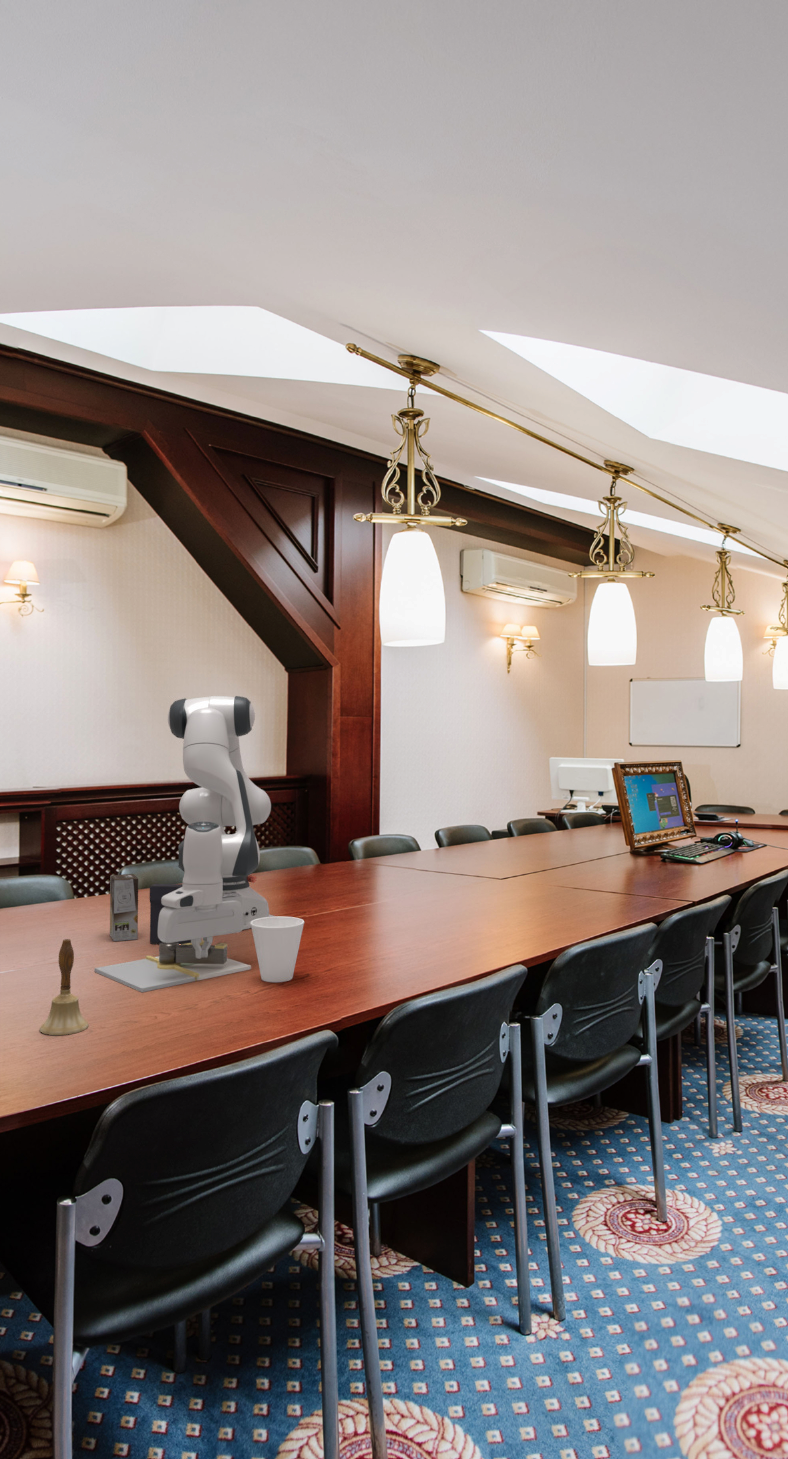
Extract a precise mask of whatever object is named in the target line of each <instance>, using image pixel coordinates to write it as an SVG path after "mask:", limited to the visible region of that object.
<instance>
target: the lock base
mask: <svg viewBox="0 0 788 1459" xmlns="http://www.w3.org/2000/svg"><path fill="white" fill-rule="evenodd" d="M203 943H204V941H203V940H201V943H199V945H203ZM181 945H192V943H187V944H181ZM251 969H252V965H250V964H247V963H244V962H241V961H239V960H238V961H237V960H234V959H231V958H228V957H227V962H225V963H224V964H196V963H170V964H164V963H160V962H159V955H158V956H152V955H146V956H145V958H143V959H137V960H131V961H127V962H121V963H116V964H110V965H104V966H99V967H94V972H95V973H97V974H99V975H101V976H102V977H103V976H104V977H106V978H109V979H110V980H113V981H115V982H117V983H119V984H122V985H124V986H126V987H129V988H131V989H133V990H136V991H138V992H140V993H145V992H146V993H147V992H149V991H155V990H159V989H160V990H161V989H165V988H168V987H169V988H170V987H174V986H179V985H183V984H188V983H194V982H197V981H202V980H206V979H207V980H208V979H211V978H217V977H220V976H225V975H226V976H227V975H230V974H234V973H239V972H245V971H249V970H251Z"/></svg>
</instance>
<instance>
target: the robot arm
mask: <svg viewBox="0 0 788 1459" xmlns="http://www.w3.org/2000/svg"><path fill="white" fill-rule="evenodd" d="M255 718H256V713H255V709H254V707H253V705H252V701H250V700H249V698H247V697H245V696H240V695H235V696H226V695H210V696H203V697H193V698H189V699H187V698H185V697H184V698H181V699H177V700H174V701H173V703H172V704H170V707H169V711H168V714H167V722H168V727H169V729H170V732H171V734H172V735H173V736H175V737H176V738H178V739H183V742H182V743H183V747H182V765H183V771H184V773H185V775H186V776H187V777H188V779H189V780H190V781H191V782H193V783H194V784H195V785H197V786H198V787H197V788H192V789H187V790H186V791H185V792H184V793H183V795H182V796H181V798H180V801H179V805H178V808H179V814H180V816H181V818H182V820H183V821H184V822H185V823H186V824H188V825H187V826H186V828H185V834H184V839H183V840H182V841H181V842H180V843H179V845H178V866H177V867H178V868H179V869H180V870H181V871H183V872H184V874H183V878H182V884H183V886H182V887H181V888H179V889H177V890H175V891H173V892H171V893H168V894H166V895H164V896H163V897H162V899H161V903H162V905H164V906H165V907H163V908H162V910H161V911H160V914H159V920H158V938H159V939H160V940H161V941H162V942H165V943H172V942H179V941H185V940H191V943H192V945H193V947H194V949H195V950H196V958H198V959H200V958H205V957H208V949H209V947H210V945H212V943H213V940H214V938H213V937H217V936H223V935H231V934H237V933H241V932H242V931H243V930H248V929H252V927H251V924H250V922H251V921H252V920H255V919H259V918H264V917H276V916H275V915H273V914H270V909H269V908H270V907H269V903H268V900H267V899H266V898H265V897H264V896H263V895H261V894H260V893H259V892H258V891H256V890H254V888H252V887H251V886H250V883H252V884H254V883H256V882H257V876H256V875H251V874H253V873H254V872H255V871H256V870H257V869H258V868H259V865H260V861H261V851H260V845H259V843H258V841H257V838H256V834H255V830H254V826H256V825H261V824H263V823H265V822H266V821H267V819H268V818H269V816H270V815H271V810H272V802H271V799H270V796H269V795H268V793H266V790H264V789H261V788H260V787H259V786H257V785H256V784H255V783H254V782H253V781H252V780H251V779H250V778H249V777H248V775H247V773H246V772H245V769H244V766H243V762H242V756H241V755H242V754H241V748H240V747H241V746H240V738H239V737H242V736H246V735H248V734H249V733H250V732H251V731H252V730H253V726H254V724H255V720H256V719H255ZM224 827H235V828H236V829H235V830H236V831H235V833H232V834H227V833H226V831H225V828H224ZM201 941H204V943H203V946H202V948H201V947H200V945H199V943H201Z"/></svg>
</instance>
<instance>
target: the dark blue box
mask: <svg viewBox="0 0 788 1459" xmlns="http://www.w3.org/2000/svg"><path fill="white" fill-rule="evenodd" d="M182 886H183V883H179V884H177V883H154V884H152V885H150V886H149V902H150V903H149V904H150V908H149V909H150V912H149V914H150V916H149V917H150V918H149V920H150V921H149V925H150V926H149V943H150V944H151V945H159V944H160V943H162V941H161V940H160V939H159V938H158V920H159V914H160V911H161V910H162V908H163V907H165V906H164V905H162V903H161V899H162V897H163V896H164V895H166V894H168V893H171V892H173V891H175V890H177V889H179V888H181V887H182ZM187 943H191V940H185V941H179V944H187Z"/></svg>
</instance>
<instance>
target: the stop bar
mask: <svg viewBox="0 0 788 1459" xmlns="http://www.w3.org/2000/svg"><path fill="white" fill-rule="evenodd" d="M202 946H203V945H200V947H201V948H202ZM158 947H159V948H158V956H159V962H160V963H164V964H170V963H196V964H224V963H225V962H227V958H228V943H227V942H218V943H216V944H215V945H212V944H211V945H210V947H209V949H208V957H205V958H200V959H198V958H196V950H195V949H194V947H193V945H179V942H172V943H165V942H162V943H160V944H158Z"/></svg>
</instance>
